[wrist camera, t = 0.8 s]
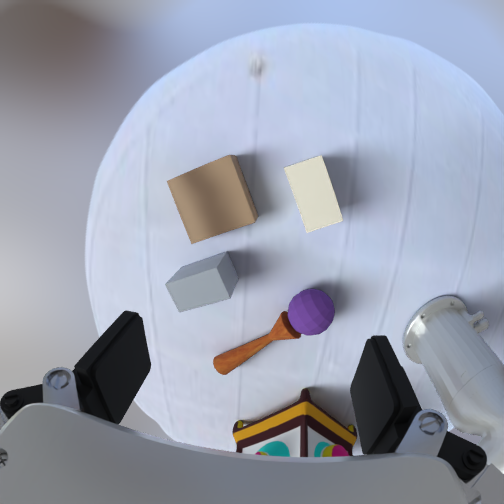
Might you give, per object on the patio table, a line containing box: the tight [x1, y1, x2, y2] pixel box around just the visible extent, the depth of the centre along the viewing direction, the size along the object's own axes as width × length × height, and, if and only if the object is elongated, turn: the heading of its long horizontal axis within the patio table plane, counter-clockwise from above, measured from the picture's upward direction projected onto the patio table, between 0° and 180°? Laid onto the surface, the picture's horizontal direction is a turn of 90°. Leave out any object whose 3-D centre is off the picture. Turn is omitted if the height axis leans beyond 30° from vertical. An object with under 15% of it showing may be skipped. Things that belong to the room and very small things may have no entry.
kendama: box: [213, 289, 335, 375], centre depth 37 cm, size 6×6×20 cm
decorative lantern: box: [233, 388, 357, 457], centre depth 32 cm, size 20×20×30 cm
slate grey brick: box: [165, 252, 239, 312], centre depth 35 cm, size 7×4×6 cm, turn 111°
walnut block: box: [167, 155, 258, 244], centre depth 33 cm, size 8×8×4 cm
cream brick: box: [284, 155, 343, 233], centre depth 30 cm, size 7×4×6 cm, turn 21°
